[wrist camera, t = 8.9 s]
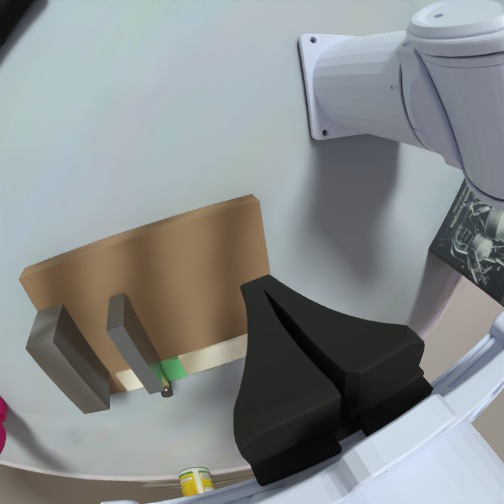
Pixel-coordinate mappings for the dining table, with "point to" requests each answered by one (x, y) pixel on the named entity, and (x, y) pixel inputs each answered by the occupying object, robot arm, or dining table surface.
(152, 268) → the board
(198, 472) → the supplement bottle
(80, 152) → the dining table surface
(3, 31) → the electric trimmer
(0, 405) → the pepper mill
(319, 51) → the robot arm
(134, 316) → the pad
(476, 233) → the small box
